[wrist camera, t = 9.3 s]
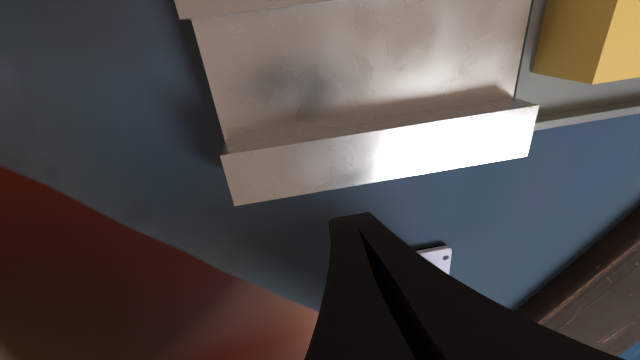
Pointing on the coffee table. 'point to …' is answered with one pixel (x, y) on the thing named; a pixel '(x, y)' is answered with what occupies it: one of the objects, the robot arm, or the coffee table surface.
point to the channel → (360, 89)
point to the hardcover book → (596, 293)
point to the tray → (568, 87)
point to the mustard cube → (590, 40)
